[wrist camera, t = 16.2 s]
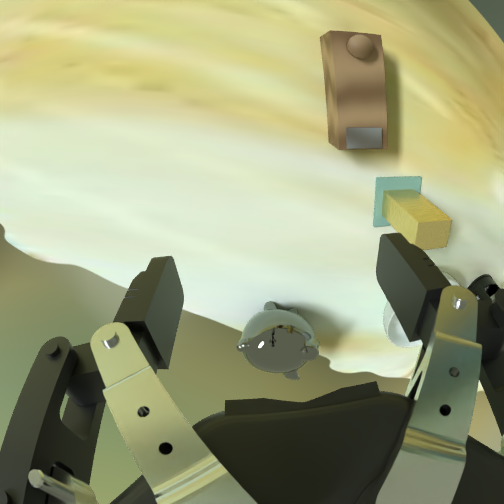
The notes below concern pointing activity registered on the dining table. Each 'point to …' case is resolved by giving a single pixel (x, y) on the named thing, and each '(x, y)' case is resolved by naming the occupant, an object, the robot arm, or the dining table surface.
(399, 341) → the cereal bowl
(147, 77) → the dining table surface
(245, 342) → the piggy bank
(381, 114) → the body
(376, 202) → the mat
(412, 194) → the brushed brass block
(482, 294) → the french press
